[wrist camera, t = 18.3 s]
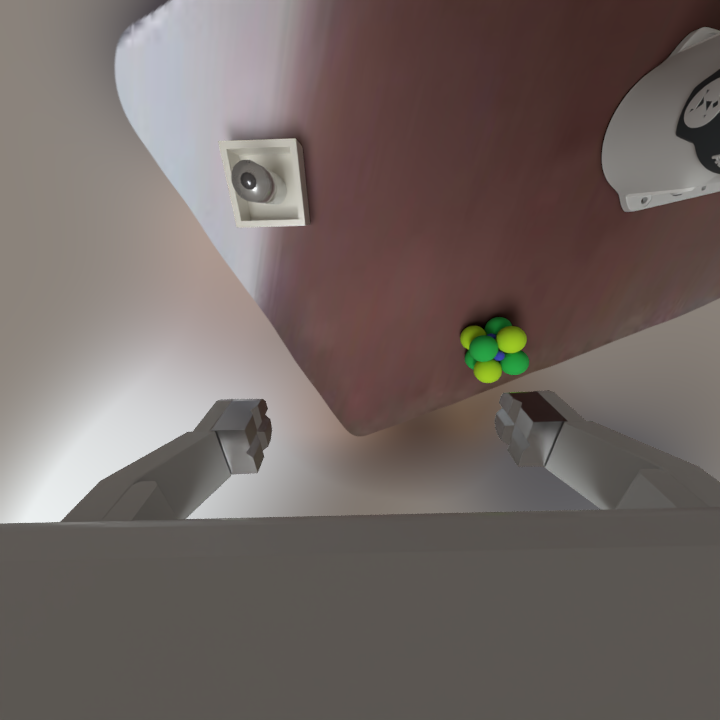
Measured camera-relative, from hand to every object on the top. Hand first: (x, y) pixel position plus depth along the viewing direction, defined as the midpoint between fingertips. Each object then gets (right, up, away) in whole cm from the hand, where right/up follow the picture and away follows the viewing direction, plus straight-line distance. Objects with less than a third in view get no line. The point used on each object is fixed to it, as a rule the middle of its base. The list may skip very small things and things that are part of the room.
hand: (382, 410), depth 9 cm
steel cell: (-13, +26, +30) cm, 42 cm away
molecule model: (+22, +6, +42) cm, 48 cm away
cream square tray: (-13, +27, +30) cm, 42 cm away
